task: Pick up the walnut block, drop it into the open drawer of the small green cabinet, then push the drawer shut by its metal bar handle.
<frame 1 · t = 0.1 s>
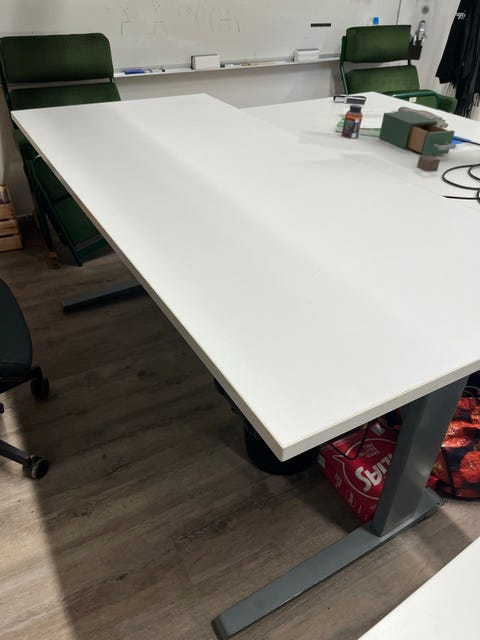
hand: (412, 57, 154), 28 cm above the table, tool pointing down, fingers open, 9 cm apart
drawer: (429, 139, 161), point 5 cm above the table, slide at 8.0 cm
supplement bottle: (348, 139, 174), on the table
block: (425, 172, 148), on the table
cabinet: (404, 143, 172), on the table
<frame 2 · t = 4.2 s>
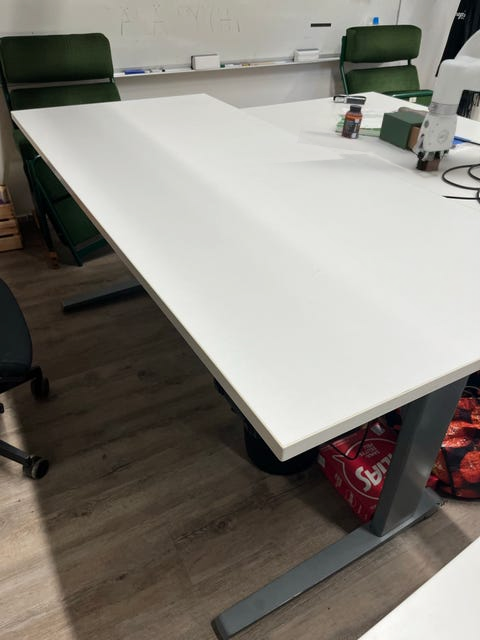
hand: (426, 170, 148), 0 cm above the table, tool pointing down, fingers closed on block, 4 cm apart
block: (425, 172, 148), on the table, touching gripper
everything else where it was.
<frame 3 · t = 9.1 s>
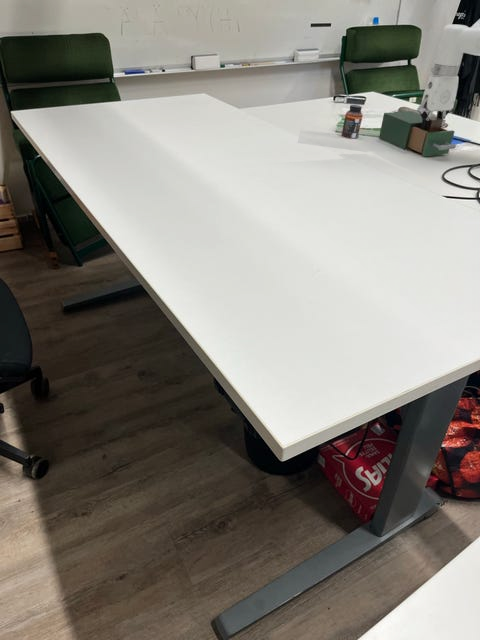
hand: (429, 130, 160), 7 cm above the table, tool pointing down, fingers closed on block, 4 cm apart
block: (429, 132, 160), point 7 cm above the table, touching gripper
everything else where it was.
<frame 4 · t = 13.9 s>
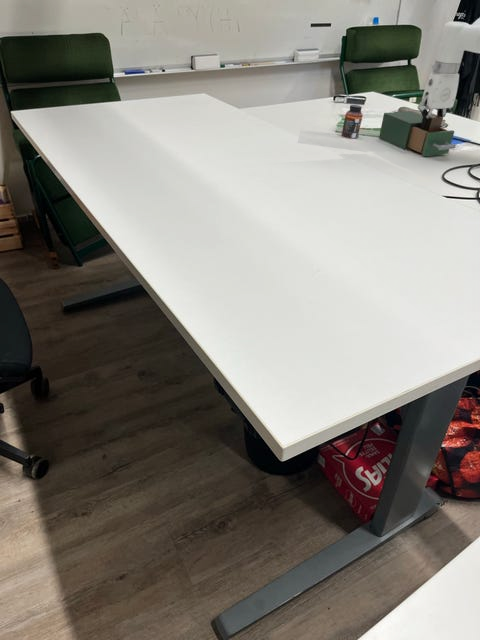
hand: (429, 128, 160), 8 cm above the table, tool pointing down, fingers closed on block, 4 cm apart
block: (429, 129, 160), point 8 cm above the table, touching gripper
everything else where it was.
when the fingers open (9 cm above the table, at t = 18.4 s): block drops 7 cm, resting on drawer.
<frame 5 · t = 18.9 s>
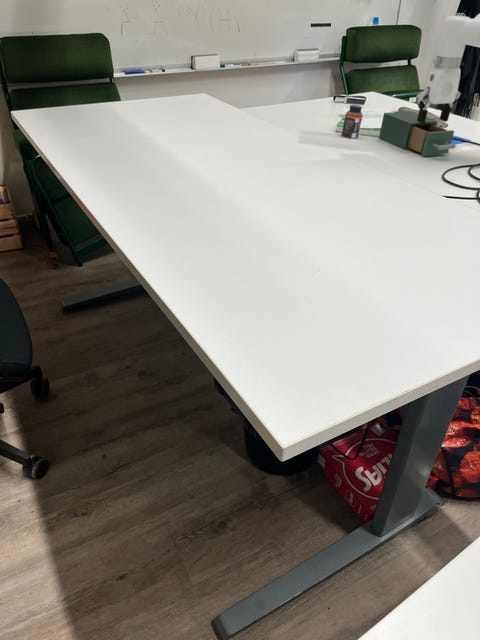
hand: (432, 121, 158), 10 cm above the table, tool pointing down, fingers open, 9 cm apart
drawer: (429, 139, 161), point 5 cm above the table, slide at 7.8 cm, touching block
block: (425, 146, 163), point 2 cm above the table, touching drawer
everything else where it was.
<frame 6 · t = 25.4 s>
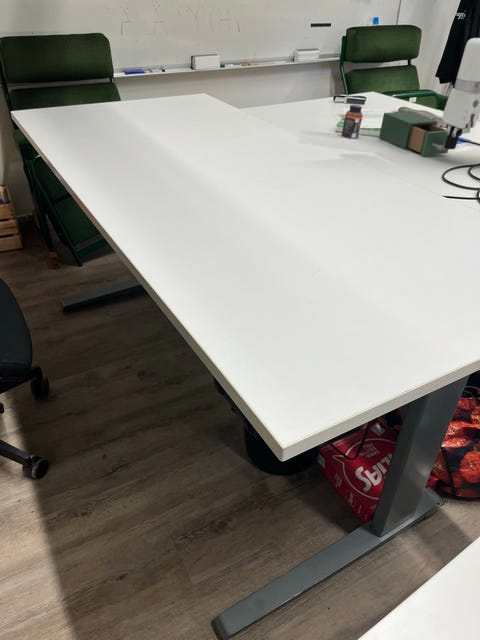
hand: (449, 148, 154), 5 cm above the table, tool pointing down, fingers closed
drawer: (428, 139, 161), point 5 cm above the table, slide at 7.5 cm, touching block, gripper
everything else where it was.
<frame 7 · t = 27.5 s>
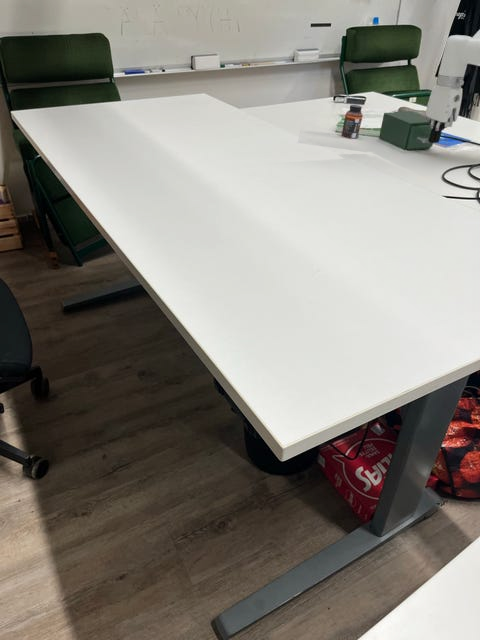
hand: (433, 142, 159), 4 cm above the table, tool pointing down, fingers closed
drawer: (414, 133, 167), point 5 cm above the table, slide at 0.0 cm, touching block, cabinet, gripper
block: (410, 140, 169), point 2 cm above the table, touching drawer
everything else where it was.
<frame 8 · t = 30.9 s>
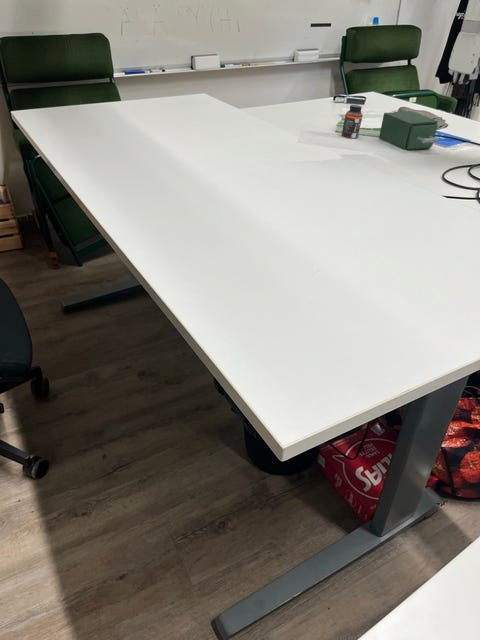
hand: (456, 97, 148), 19 cm above the table, tool pointing down, fingers closed
drawer: (414, 133, 167), point 5 cm above the table, slide at 0.0 cm, touching block, cabinet
everything else where it was.
at the end: block inside the target area in the cabinet (2.9 cm from its centre), point 2.0 cm above the cabinet's base; drawer slide at 0.0 cm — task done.
